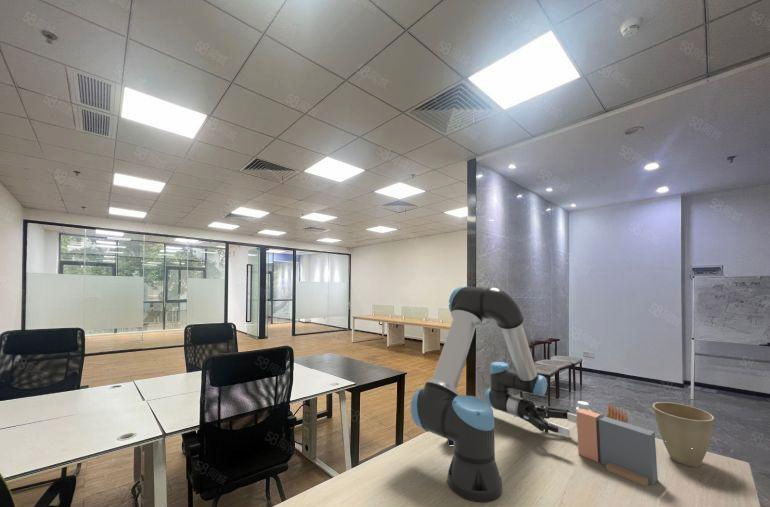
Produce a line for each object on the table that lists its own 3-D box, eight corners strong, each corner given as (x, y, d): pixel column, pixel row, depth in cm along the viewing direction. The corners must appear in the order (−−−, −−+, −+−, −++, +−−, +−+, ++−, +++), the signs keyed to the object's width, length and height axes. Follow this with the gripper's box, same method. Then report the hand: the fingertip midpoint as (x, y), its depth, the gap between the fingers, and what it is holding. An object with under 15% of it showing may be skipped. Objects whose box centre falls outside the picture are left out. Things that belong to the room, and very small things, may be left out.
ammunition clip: (631, 448, 114) (629, 413, 115) (626, 448, 114) (624, 413, 115) (611, 434, 124) (610, 402, 125) (606, 434, 124) (605, 401, 125)
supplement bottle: (594, 431, 126) (593, 405, 127) (579, 430, 127) (578, 404, 128) (588, 425, 132) (587, 400, 132) (574, 424, 133) (573, 399, 133)
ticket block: (595, 466, 103) (593, 420, 104) (607, 457, 108) (605, 413, 109) (650, 489, 92) (647, 437, 93) (660, 477, 97) (657, 428, 98)
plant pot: (646, 455, 109) (643, 406, 111) (668, 445, 116) (665, 399, 117) (705, 479, 96) (701, 424, 97) (726, 466, 103) (722, 414, 104)
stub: (578, 454, 110) (576, 411, 111) (583, 450, 112) (581, 408, 113) (598, 462, 105) (595, 417, 106) (603, 458, 107) (601, 414, 108)
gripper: (538, 410, 137) (593, 429, 120) (503, 426, 122) (561, 450, 105) (537, 392, 137) (592, 408, 120) (502, 405, 123) (560, 426, 106)
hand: (578, 427), depth 113 cm, fingers open, 13 cm apart
